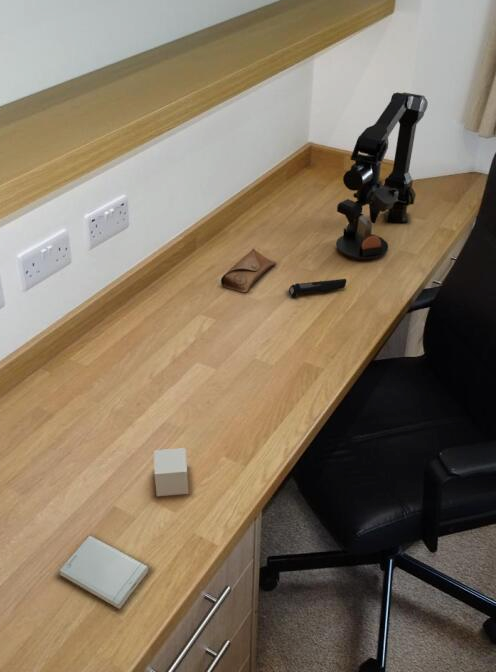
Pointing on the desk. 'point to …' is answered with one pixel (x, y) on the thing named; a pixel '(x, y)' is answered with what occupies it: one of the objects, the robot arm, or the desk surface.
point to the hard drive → (104, 571)
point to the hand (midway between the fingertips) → (363, 227)
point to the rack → (361, 242)
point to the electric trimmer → (316, 287)
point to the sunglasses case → (246, 271)
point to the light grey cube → (170, 472)
